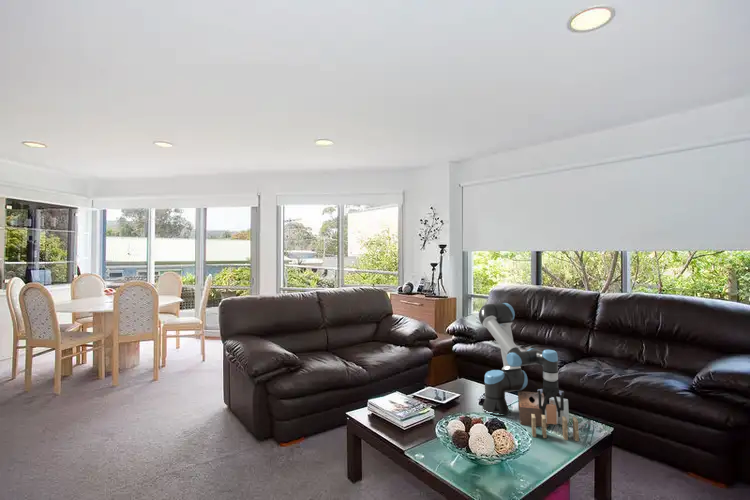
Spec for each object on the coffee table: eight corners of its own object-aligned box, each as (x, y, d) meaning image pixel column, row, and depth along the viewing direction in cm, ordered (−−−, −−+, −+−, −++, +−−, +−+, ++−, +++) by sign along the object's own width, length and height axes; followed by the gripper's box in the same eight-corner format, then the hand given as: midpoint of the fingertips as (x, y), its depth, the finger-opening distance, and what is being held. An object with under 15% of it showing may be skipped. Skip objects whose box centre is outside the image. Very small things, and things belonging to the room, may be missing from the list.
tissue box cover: (548, 427, 215) (547, 409, 215) (520, 424, 219) (519, 406, 219) (543, 409, 239) (543, 393, 240) (518, 407, 244) (517, 391, 244)
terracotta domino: (546, 422, 214) (545, 404, 214) (556, 423, 213) (555, 404, 213) (546, 423, 213) (546, 405, 213) (556, 424, 211) (556, 406, 211)
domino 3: (564, 439, 200) (563, 420, 200) (562, 435, 205) (562, 416, 205) (567, 440, 200) (567, 420, 200) (566, 435, 204) (565, 416, 204)
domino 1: (532, 436, 204) (532, 417, 204) (531, 432, 209) (531, 413, 209) (536, 437, 204) (535, 417, 204) (535, 432, 209) (534, 414, 209)
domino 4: (575, 441, 199) (574, 421, 199) (573, 436, 203) (572, 417, 204) (578, 441, 198) (578, 421, 198) (576, 436, 203) (576, 417, 203)
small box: (569, 422, 220) (568, 399, 220) (563, 426, 216) (563, 402, 216) (554, 418, 226) (554, 395, 226) (549, 421, 222) (548, 398, 222)
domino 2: (543, 437, 203) (542, 418, 203) (542, 433, 208) (541, 414, 208) (546, 438, 202) (545, 418, 202) (545, 433, 207) (544, 414, 207)
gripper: (533, 380, 212) (534, 423, 212) (570, 382, 206) (570, 426, 207) (532, 375, 219) (532, 417, 219) (567, 378, 214) (568, 420, 214)
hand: (551, 421), depth 213 cm, fingers closed on terracotta domino, 5 cm apart
